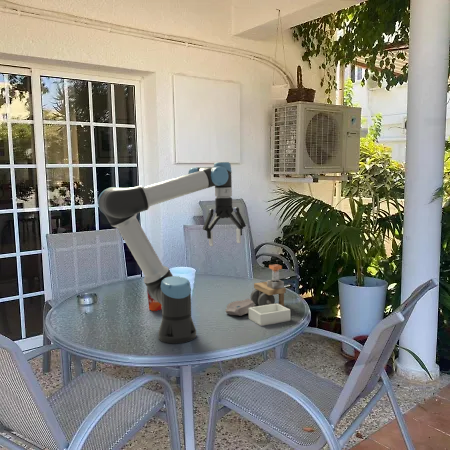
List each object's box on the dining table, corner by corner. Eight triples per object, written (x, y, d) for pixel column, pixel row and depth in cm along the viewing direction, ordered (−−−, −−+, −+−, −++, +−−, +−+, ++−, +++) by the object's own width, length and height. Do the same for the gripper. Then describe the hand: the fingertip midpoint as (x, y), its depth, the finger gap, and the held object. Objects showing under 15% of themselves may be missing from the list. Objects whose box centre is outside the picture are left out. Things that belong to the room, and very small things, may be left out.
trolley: (263, 312, 206) (263, 284, 204) (248, 304, 219) (248, 278, 218) (285, 309, 210) (285, 281, 209) (269, 301, 224) (269, 275, 223)
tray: (260, 326, 188) (260, 314, 187) (248, 318, 198) (248, 307, 197) (290, 320, 194) (290, 309, 193) (277, 313, 204) (277, 303, 203)
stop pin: (273, 288, 208) (273, 266, 207) (269, 286, 212) (269, 265, 211) (281, 287, 210) (281, 265, 209) (277, 285, 214) (276, 264, 213)
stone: (235, 319, 197) (235, 306, 197) (224, 314, 205) (224, 301, 205) (259, 314, 204) (259, 302, 204) (247, 309, 212) (247, 297, 212)
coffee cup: (147, 312, 210) (145, 281, 208) (146, 307, 218) (145, 277, 216) (164, 310, 211) (163, 280, 210) (163, 306, 219) (162, 276, 218)
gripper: (200, 199, 188) (202, 248, 190) (252, 196, 198) (253, 242, 201) (194, 198, 195) (196, 245, 197) (244, 195, 205) (246, 240, 207)
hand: (225, 244), depth 199 cm, fingers open, 13 cm apart
